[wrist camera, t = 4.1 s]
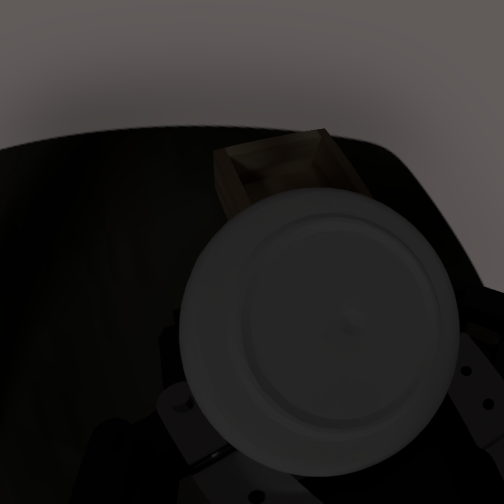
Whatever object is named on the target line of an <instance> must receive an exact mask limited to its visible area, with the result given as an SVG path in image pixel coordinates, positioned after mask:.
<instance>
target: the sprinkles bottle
mask: <svg viewBox="0 0 504 504" xmlns="http://www.w3.org/2000/svg"><path fill="white" fill-rule="evenodd" d="M459 341H460V329H459V315H458V308H457V303H456V298H455V294H454V290H453V287H452V284H451V281H450V279H449V276H448V274H447V271H446V269H445V267H444V265H443V263H442V261H441V260H440V258H439V256H438V255H437V253H436V252H435V250H434V249H433V247H432V246H431V245H430V243H429V242H428V241H427V240H426V238H425V237H424V236H423V235H422V234H421V233H420V232H419V231H418V230H417V229H416V227H414V226H413V225H412V224H411V223H410V222H409V221H408V220H407V219H406V218H404V217H403V216H401V215H400V214H399V213H397V212H396V211H394V210H393V209H391V208H389V207H388V206H386V205H385V204H383V203H381V202H379V201H376V200H374V199H372V198H370V197H367V196H365V195H362V194H359V193H355V192H351V191H348V190H342V189H335V188H301V189H293V190H289V191H285V192H281V193H278V194H275V195H272V196H270V197H267V198H265V199H262V200H260V201H258V202H256V203H254V204H253V205H251V206H249V207H247V208H246V209H244V210H242V211H241V212H240V213H238V214H237V215H236V216H234V217H233V218H232V219H230V220H229V221H228V222H227V223H226V224H225V225H224V226H223V227H222V228H221V229H220V230H219V231H218V232H217V233H216V234H215V235H214V237H213V238H212V239H211V240H210V242H209V243H208V244H207V246H206V247H205V248H204V250H203V251H202V252H201V254H200V256H199V257H198V259H197V261H196V263H195V266H194V268H193V270H192V273H191V275H190V278H189V280H188V283H187V285H186V289H185V292H184V296H183V300H182V304H181V311H180V321H179V345H180V354H181V359H182V364H183V369H184V373H185V376H186V379H187V382H188V385H189V388H190V390H191V392H192V394H193V396H194V398H195V400H196V402H197V404H198V405H199V407H200V409H201V411H202V412H203V414H204V415H205V417H206V418H207V419H208V421H209V422H210V423H211V425H212V426H213V427H214V428H215V429H216V430H217V432H218V433H219V434H220V435H221V436H222V437H223V438H224V439H225V440H226V441H228V442H229V443H230V444H231V445H232V446H233V447H235V448H236V449H238V450H239V451H240V452H242V453H243V454H244V455H246V456H248V457H249V458H251V459H253V460H255V461H257V462H259V463H261V464H263V465H265V466H267V467H270V468H272V469H275V470H278V471H281V472H285V473H290V474H296V475H303V476H312V477H328V476H337V475H344V474H348V473H352V472H357V471H360V470H363V469H366V468H368V467H371V466H373V465H376V464H378V463H380V462H382V461H384V460H385V459H387V458H389V457H391V456H392V455H394V454H396V453H397V452H399V451H400V450H401V449H403V448H404V447H405V446H407V445H408V444H409V443H410V442H411V441H413V440H414V439H415V438H416V437H417V436H418V434H419V433H420V432H421V431H422V430H423V429H424V428H425V427H426V426H427V425H428V423H429V422H430V421H431V419H432V418H433V416H434V415H435V413H436V412H437V410H438V409H439V407H440V405H441V404H442V402H443V400H444V398H445V396H446V393H447V391H448V389H449V386H450V384H451V381H452V378H453V376H454V373H455V368H456V364H457V359H458V352H459Z"/></svg>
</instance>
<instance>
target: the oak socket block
mask: <svg viewBox="0 0 504 504" xmlns="http://www.w3.org/2000/svg"><path fill="white" fill-rule="evenodd" d="M213 158H214V176H215V189H216V192H217V194H218V197H219V199H220V202H221V204H222V207H223V209H224V212H225V214H226V217H227V219H228V221H229V220H230V219H232V218H233V217H234V216H236V215H237V214H238V213H240V212H241V211H242V210H244V209H246V208H247V207H249V206H251V205H253V204H254V203H256V202H258V201H260V200H262V199H265V198H267V197H270V196H272V195H275V194H278V193H281V192H285V191H289V190H293V189H301V188H335V189H342V190H348V191H351V192H355V193H359V194H362V195H365V196H367V197H370V198H372V199H374V198H373V197H372V195H371V193H370V192H369V190H368V189H367V187H366V186H365V184H364V183H363V181H362V180H361V178H360V177H359V175H358V174H357V172H356V171H355V169H354V168H353V166H352V165H351V163H350V162H349V161H348V159H347V158H346V156H345V155H344V153H343V152H342V151H341V149H340V148H339V147H338V145H337V144H336V143H335V141H334V140H333V138H332V137H331V136H330V135H329V133H328V132H327V131H326V130H325V129H318V130H311V131H305V132H299V133H293V134H287V135H282V136H277V137H271V138H266V139H261V140H257V141H252V142H247V143H243V144H239V145H234V146H230V147H226V148H222V149H218V150H214V151H213Z"/></svg>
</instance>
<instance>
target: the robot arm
mask: <svg viewBox="0 0 504 504" xmlns="http://www.w3.org/2000/svg"><path fill="white" fill-rule="evenodd" d="M450 281H451V284H452V287H453V290H454V294H455V298H456V303H457V308H458V315H459V329H460V341H459V352H458V359H457V364H456V368H455V373H454V376H453V378H452V381H451V384H450V386H449V389H448V391H447V393H446V396H445V398H444V400H443V402H442V404H441V405H440V407H439V409H438V410H437V412H436V413H435V415H434V416H433V418H432V419H431V421H430V422H429V423H428V425H427V426H426V427H425V428H424V429H423V430H422V431H421V432H420V433H419V434H418V436H417V437H416V438H415V439H414V440H413V441H411V442H410V443H409V444H408V445H407V446H405V447H404V448H403V449H401V450H400V451H399V452H397V453H396V454H394V455H392V456H391V457H389V458H387V459H385V460H384V461H382V462H380V463H378V464H376V465H373V466H371V467H368V468H366V469H363V470H360V471H357V472H352V473H348V474H344V475H337V476H328V477H312V476H308V477H306V478H303V479H301V480H299V481H297V480H296V479H294V478H293V477H292V476H291V475H290V474H289V473H285V472H281V471H278V470H275V469H272V468H270V467H267V466H265V465H263V464H261V463H259V462H257V461H255V460H253V459H251V458H249V457H248V456H246V455H244V454H243V453H242V452H240V451H239V450H238V449H236V448H235V447H233V446H232V445H231V444H230V443H229V442H228V441H226V440H225V439H224V438H223V437H222V436H221V435H220V434H219V433H218V432H217V430H216V429H215V428H214V427H213V426H212V425H211V423H210V422H209V421H208V419H207V418H206V417H205V415H204V414H203V412H202V411H201V409H200V407H199V405H198V404H197V402H196V400H195V398H194V396H193V394H192V392H191V390H190V388H189V385H188V382H187V379H186V376H185V373H184V369H183V364H182V359H181V354H180V345H179V321H180V311H181V308H179V309H176V310H173V314H174V321H175V325H172V326H169V327H166V328H164V329H163V331H162V333H161V335H160V337H159V346H160V357H161V368H162V378H163V387H164V391H163V392H162V393H161V395H160V396H159V398H158V400H157V405H156V407H157V409H156V410H155V411H154V412H153V413H152V414H150V415H149V416H147V417H146V418H144V419H142V420H140V421H138V422H136V423H135V424H133V425H131V424H130V423H129V422H128V421H126V420H124V419H120V418H113V419H109V420H106V421H104V422H102V423H101V424H99V425H98V426H97V427H96V428H95V429H94V431H93V432H92V435H91V437H90V440H89V443H88V445H87V448H86V451H85V454H84V457H83V460H82V463H81V466H80V469H79V472H78V475H77V478H76V482H75V485H74V488H73V491H72V495H71V498H70V502H69V504H177V496H178V488H179V481H180V480H181V479H183V478H185V477H187V476H188V475H190V474H191V475H192V477H193V478H194V480H195V481H196V483H197V484H198V486H199V487H200V489H201V490H202V491H203V493H204V494H205V496H206V497H207V498H208V500H209V501H210V502H211V504H504V293H502V292H499V291H496V290H493V289H490V288H487V287H484V286H480V285H477V284H474V283H471V282H468V281H465V280H461V279H450ZM468 322H471V323H474V324H477V325H479V326H482V327H485V328H488V329H490V330H493V331H495V332H497V333H498V334H499V335H500V336H501V341H500V342H499V343H498V344H496V345H491V344H488V343H486V342H483V341H481V340H478V339H475V338H473V337H470V336H468V335H467V334H466V329H467V326H468Z"/></svg>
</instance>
